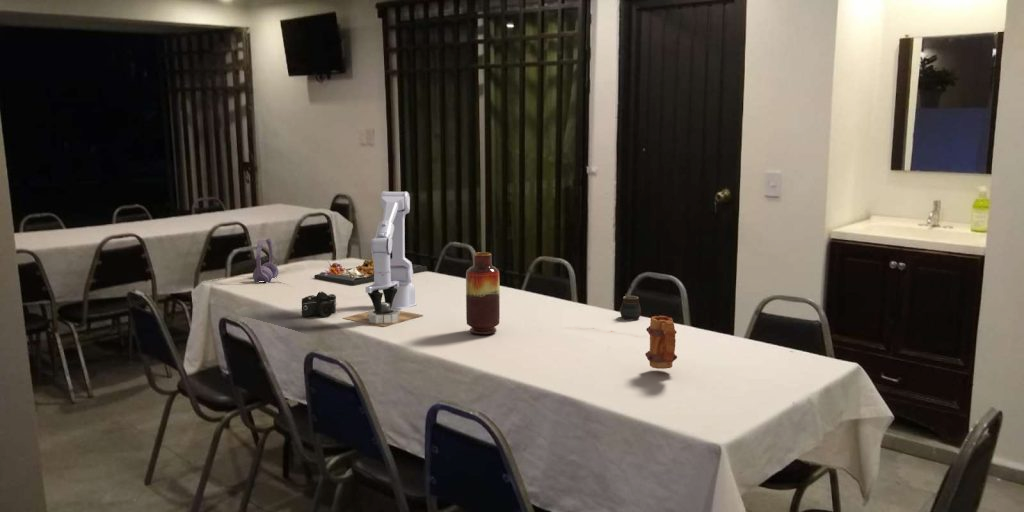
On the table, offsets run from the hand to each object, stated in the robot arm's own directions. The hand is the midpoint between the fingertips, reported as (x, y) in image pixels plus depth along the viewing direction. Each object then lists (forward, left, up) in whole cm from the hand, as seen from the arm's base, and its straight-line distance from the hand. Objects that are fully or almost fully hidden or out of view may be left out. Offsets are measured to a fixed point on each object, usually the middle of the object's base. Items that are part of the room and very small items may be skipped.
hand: (383, 310), depth 287 cm
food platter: (-55, -61, -5) cm, 82 cm away
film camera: (+9, -24, -5) cm, 26 cm away
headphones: (-22, -92, -4) cm, 95 cm away
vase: (-9, +37, -4) cm, 38 cm away
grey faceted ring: (0, 0, -4) cm, 4 cm away
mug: (-3, +105, -4) cm, 105 cm away
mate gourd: (-52, +69, -4) cm, 87 cm away
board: (-4, -4, -4) cm, 7 cm away
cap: (0, 0, -1) cm, 1 cm away
